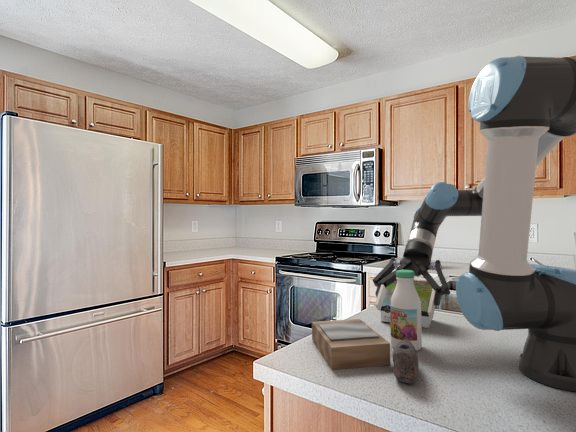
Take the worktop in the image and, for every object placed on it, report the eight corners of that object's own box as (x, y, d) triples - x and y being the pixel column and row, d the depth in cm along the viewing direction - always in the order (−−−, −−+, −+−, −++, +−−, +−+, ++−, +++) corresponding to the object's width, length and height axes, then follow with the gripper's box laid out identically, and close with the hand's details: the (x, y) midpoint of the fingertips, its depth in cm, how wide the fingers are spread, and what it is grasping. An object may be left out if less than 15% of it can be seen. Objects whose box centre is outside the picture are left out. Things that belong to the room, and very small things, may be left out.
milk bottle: (399, 339, 100) (398, 267, 100) (426, 346, 94) (426, 270, 94) (385, 346, 95) (384, 270, 94) (413, 354, 89) (412, 274, 89)
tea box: (380, 322, 116) (379, 276, 116) (386, 314, 125) (386, 272, 125) (429, 328, 109) (429, 280, 109) (433, 320, 118) (432, 275, 118)
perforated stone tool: (395, 359, 87) (394, 330, 87) (418, 361, 85) (417, 332, 85) (390, 387, 73) (390, 353, 73) (418, 391, 71) (417, 356, 71)
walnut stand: (390, 364, 83) (390, 341, 83) (331, 369, 81) (331, 345, 81) (359, 336, 103) (359, 317, 103) (312, 339, 101) (311, 320, 101)
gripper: (468, 258, 100) (457, 327, 88) (381, 254, 114) (362, 311, 102) (464, 241, 95) (452, 310, 83) (374, 238, 110) (353, 296, 98)
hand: (402, 311), depth 93 cm, fingers open, 13 cm apart
